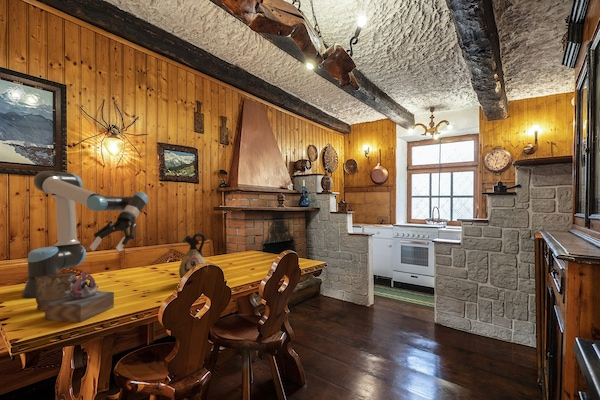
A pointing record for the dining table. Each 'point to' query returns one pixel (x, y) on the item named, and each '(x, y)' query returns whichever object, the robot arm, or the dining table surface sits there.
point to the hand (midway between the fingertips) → (104, 249)
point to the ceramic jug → (192, 254)
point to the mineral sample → (52, 287)
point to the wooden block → (78, 307)
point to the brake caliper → (82, 286)
